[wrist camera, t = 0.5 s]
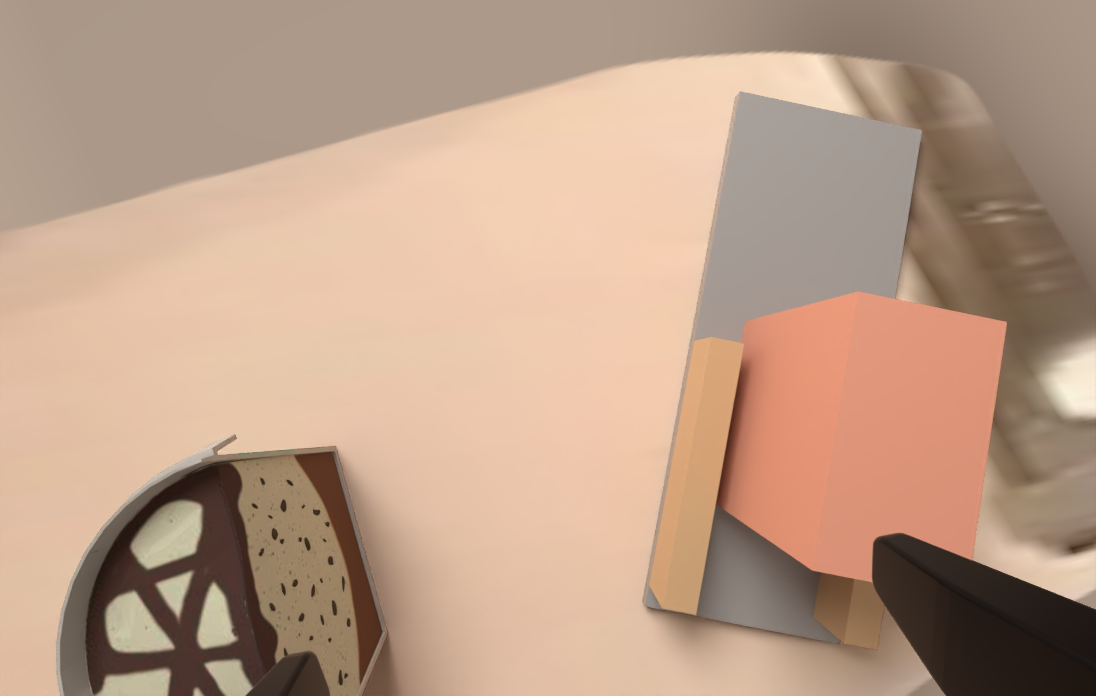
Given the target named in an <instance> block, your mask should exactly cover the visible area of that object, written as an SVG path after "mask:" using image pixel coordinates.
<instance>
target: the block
mask: <svg viewBox="0 0 1096 696" xmlns="http://www.w3.org/2000/svg"><path fill="white" fill-rule="evenodd" d="M1006 325H1007V322H1004V321H999V320H994V319H989V318H984V317H980V316H975V315H970V314H965V313H960V312H955V311H951V310H946V309H941V308H936V307H931V306H926V305H922V304H917V303H912V302H907V301H902V300H898V299H893V298H888V297H883V296H878V295H873V294H869V293H864V292H859V291H858V292H854V293H850V294H846V295H843V296H839V297H835V298H831V299H828V300H824V301H820V302H816V303H812V304H809V305H805V306H801V307H797V308H793V309H790V310H786V311H782V312H778V313H775V314H771V315H767V316H763V317H759V318H756V319H752V320H748V321H745V323H744V329H743V335H742V340H741V343H744V348H743V353H742V359H741V365H740V370H739V376H738V382H737V387H736V393H735V398H734V404H733V410H732V415H731V421H730V427H729V432H728V438H727V443H726V449H725V455H724V460H723V466H722V472H721V477H720V483H719V489H718V494H717V500H716V505H718V506H719V507H721V508H722V509H724V510H725V511H726V512H728V513H729V514H731V515H732V516H734V517H735V518H737V519H738V520H740V521H741V522H742V523H744V524H745V525H747V526H748V527H750V528H751V529H753V530H754V531H756V532H757V533H758V534H760V535H761V536H763V537H764V538H766V539H767V540H769V541H770V542H772V543H773V544H774V545H776V546H777V547H779V548H780V549H782V550H783V551H785V552H786V553H788V554H789V555H790V556H792V557H793V558H795V559H796V560H798V561H799V562H801V563H802V564H804V565H805V566H806V567H808V568H809V569H811V570H812V571H817V572H822V573H827V574H833V575H838V576H843V577H848V578H853V579H858V580H863V581H868V582H872V552H873V542H874V540H875V538H877V537H879V536H883V535H888V534H893V533H904V534H907V535H910V536H912V537H915V538H917V539H920V540H922V541H925V542H927V543H930V544H932V545H935V546H937V547H940V548H942V549H945V550H947V551H950V552H952V553H955V554H957V555H960V556H962V557H965V558H968V559H970V560H972V558H973V551H974V544H975V537H976V530H977V523H978V517H979V510H980V503H981V496H982V489H983V482H984V476H985V469H986V462H987V455H988V448H989V441H990V434H991V428H992V421H993V414H994V407H995V400H996V393H997V387H998V380H999V373H1000V366H1001V359H1002V352H1003V346H1004V339H1005V332H1006Z"/></svg>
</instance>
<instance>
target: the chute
mask: <svg viewBox="0 0 1096 696" xmlns="http://www.w3.org/2000/svg"><path fill="white" fill-rule="evenodd" d="M921 134H922V130H918V129H914V128H909V127H904V126H900V125H895V124H890V123H886V122H881V121H876V120H872V119H867V118H862V117H858V116H853V115H848V114H844V113H839V112H834V111H829V110H825V109H820V108H815V107H811V106H806V105H801V104H797V103H792V102H787V101H783V100H778V99H773V98H769V97H764V96H759V95H755V94H750V93H745V92H741V91H740V92H739V93H738V95H737V96H736V97H735V102H734V108H733V113H732V119H731V124H730V130H729V135H728V140H727V146H726V151H725V157H724V162H723V168H722V173H721V178H720V184H719V189H718V195H717V200H716V205H715V211H714V216H713V222H712V227H711V233H710V238H709V243H708V249H707V254H706V260H705V265H704V271H703V276H702V281H701V287H700V292H699V298H698V303H697V309H696V314H695V319H694V325H693V330H692V336H691V341H690V347H689V352H688V357H687V363H686V368H685V374H684V379H683V385H682V390H681V395H680V401H679V406H678V412H677V417H676V423H675V428H674V433H673V439H672V444H671V450H670V455H669V461H668V466H667V471H666V477H665V482H664V488H663V493H662V499H661V504H660V509H659V515H658V520H657V526H656V531H655V537H654V542H653V547H652V553H651V558H650V564H649V569H648V575H647V580H646V585H645V591H644V596H643V603H644V605H645V606H646V607H651V608H656V609H661V610H666V611H671V612H677V613H682V614H687V615H692V616H697V617H702V618H708V619H713V620H718V621H723V622H728V623H733V624H739V625H744V626H749V627H754V628H759V629H764V630H769V631H775V632H780V633H785V634H790V635H795V636H800V637H806V638H811V639H816V640H821V641H826V642H831V643H837V644H840V641H841V642H843V643H844V644H848V645H853V646H858V647H864V648H869V649H874V650H877V649H878V643H879V636H880V630H881V624H882V617H883V611H884V604H883V602H882V601H881V599H880V598H879V596H878V594H877V593H876V591H875V588H874V586H873V582H868V581H863V580H858V579H853V578H848V577H843V576H838V575H833V574H827V573H822V572H817V571H812V570H811V569H809V568H808V567H806V566H805V565H804V564H802V563H801V562H799V561H798V560H796V559H795V558H793V557H792V556H790V555H789V554H788V553H786V552H785V551H783V550H782V549H780V548H779V547H777V546H776V545H774V544H773V543H772V542H770V541H769V540H767V539H766V538H764V537H763V536H761V535H760V534H758V533H757V532H756V531H754V530H753V529H751V528H750V527H748V526H747V525H745V524H744V523H742V522H741V521H740V520H738V519H737V518H735V517H734V516H732V515H731V514H729V513H728V512H726V511H725V510H724V509H722V508H721V507H719V506H718V505H716V500H717V494H718V489H719V483H720V477H721V472H722V466H723V460H724V455H725V449H726V443H727V438H728V432H729V427H730V421H731V415H732V410H733V404H734V398H735V393H736V387H737V382H738V376H739V370H740V365H741V359H742V353H743V348H744V343H741V340H742V335H743V329H744V323H745V321H748V320H752V319H756V318H759V317H763V316H767V315H771V314H775V313H778V312H782V311H786V310H790V309H793V308H797V307H801V306H805V305H809V304H812V303H816V302H820V301H824V300H828V299H831V298H835V297H839V296H843V295H846V294H850V293H854V292H858V291H859V292H864V293H869V294H873V295H878V296H883V297H888V298H893V299H895V296H896V290H897V283H898V277H899V271H900V265H901V259H902V252H903V246H904V240H905V234H906V227H907V221H908V215H909V209H910V202H911V196H912V190H913V184H914V177H915V171H916V165H917V159H918V152H919V146H920V140H921Z"/></svg>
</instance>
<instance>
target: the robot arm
mask: <svg viewBox="0 0 1096 696" xmlns="http://www.w3.org/2000/svg"><path fill="white" fill-rule="evenodd" d="M872 582H873V586H874V588H875V591H876V593H877V594H878V596H879V598H880V599H881V601H882V602H883V604H884V605H885V607H886V608H887V610H888V611H889V613H890V614H891V616H892V617H893V619H894V620H895V622H896V623H897V625H898V626H899V628H900V629H901V631H902V632H903V634H904V635H905V637H906V638H907V640H908V641H909V643H910V644H911V646H912V647H913V649H914V650H915V652H916V653H917V655H918V656H919V658H920V659H921V661H922V662H923V664H924V665H925V667H926V668H927V670H928V671H929V673H930V674H931V676H932V677H933V678H934V680H935V681H936V683H937V684H938V685H939V687H940V688H941V690H942V691H943V692H944V694H945V695H946V696H1096V609H1093V608H1091V607H1088V606H1086V605H1083V604H1081V603H1078V602H1076V601H1073V600H1071V599H1068V598H1066V597H1063V596H1061V595H1058V594H1056V593H1053V592H1051V591H1048V590H1045V589H1043V588H1040V587H1038V586H1035V585H1033V584H1030V583H1028V582H1025V581H1023V580H1020V579H1018V578H1015V577H1013V576H1010V575H1008V574H1005V573H1003V572H1000V571H998V570H995V569H993V568H990V567H988V566H985V565H983V564H980V563H978V562H975V561H973V560H970V559H968V558H965V557H962V556H960V555H957V554H955V553H952V552H950V551H947V550H945V549H942V548H940V547H937V546H935V545H932V544H930V543H927V542H925V541H922V540H920V539H917V538H915V537H912V536H910V535H907V534H904V533H893V534H888V535H883V536H879V537H877V538H875V540H874V542H873V552H872ZM245 696H330V690H329V687H328V684H327V681H326V679H325V676H324V673H323V671H322V668H321V665H320V663H319V660H318V657H317V655H316V654H315V653H314V652H313V651H303V652H298V653H293V654H289V655H286V656H284V657H283V658H282V659H281V660H280V661H279V662H278V663H277V664H276V665H275V666H274V667H273V668H272V669H271V670H270V671H269V672H268V673H267V674H266V675H265V676H264V677H263V678H262V679H261V680H260V681H259V682H258V683H257V684H256V685H255V686H254V687H253V688H252V689H251V690H250V691H249V692H248V693H247V694H246V695H245Z"/></svg>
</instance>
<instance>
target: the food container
mask: <svg viewBox="0 0 1096 696" xmlns="http://www.w3.org/2000/svg"><path fill="white" fill-rule="evenodd" d="M236 439H237V438H236V435H232V436H230V437H227V438H225V439H222V440H220V441H217V442H215V443H212V444H210V445H208V446H206V447H204V448H202V449H201V450H199V451H197V452H195V453H194V454H192V455H190V456H188V457H187V458H185V459H183V460H181V461H180V462H178V463H176V464H174V465H173V466H171V467H169V468H167V469H166V470H164V471H162V472H160V473H159V474H157V475H156V476H155V477H154V478H152V479H151V480H150V481H148V482H147V483H146V484H145V485H143V486H142V487H141V488H139V489H138V490H137V491H136V492H134V493H133V494H132V495H131V497H130V498H129V499H128V500H127V501H126V502H125V503H124V504H123V505H122V506H121V507H120V508H119V509H118V510H117V511H116V512H115V513H114V514H113V516H112V517H111V518H110V519H109V520H108V521H107V522H106V524H105V525H104V526H103V527H102V528H101V529H100V531H99V532H98V534H97V535H96V537H95V538H94V540H93V541H92V542H91V544H90V545H89V547H88V548H87V550H86V551H85V553H84V555H83V557H82V559H81V561H80V563H79V565H78V567H77V569H76V571H75V573H74V575H73V577H72V579H71V581H70V584H69V587H68V591H67V594H66V597H65V600H64V603H63V607H62V610H61V615H60V622H59V628H58V635H57V642H56V663H57V679H58V685H59V691H60V696H245V695H246V694H247V693H248V692H249V691H250V690H251V689H252V688H253V687H254V686H255V685H256V684H257V683H258V682H259V681H260V680H261V679H262V678H263V677H264V676H265V675H266V674H267V673H268V672H269V671H270V670H271V669H272V668H273V667H274V666H275V665H276V664H277V663H278V662H279V661H280V660H281V659H282V658H283V657H284V656H286V655H289V654H293V653H298V652H303V651H313V652H314V653H315V654H316V655H317V657H318V660H319V663H320V665H321V668H322V671H323V673H324V676H325V679H326V681H327V684H328V687H329V690H330V696H362V694H363V692H364V689H365V687H366V685H367V682H368V680H369V677H370V675H371V673H372V670H373V668H374V665H375V663H376V661H377V658H378V656H379V653H380V651H381V649H382V646H383V644H384V641H385V639H386V637H387V634H388V631H387V628H386V624H385V621H384V617H383V613H382V610H381V606H380V603H379V599H378V596H377V592H376V588H375V585H374V581H373V578H372V574H371V571H370V567H369V563H368V560H367V556H366V553H365V549H364V546H363V542H362V538H361V535H360V531H359V528H358V524H357V521H356V517H355V513H354V510H353V506H352V503H351V499H350V496H349V492H348V488H347V485H346V481H345V478H344V474H343V471H342V467H341V463H340V460H339V456H338V453H337V449H336V446H330V447H317V448H304V449H291V450H278V451H265V452H253V453H240V454H227V455H218V454H217V451H218V450H220V449H221V448H223V447H225V446H226V445H228V444H229V443H231V442H233V441H234V440H236Z"/></svg>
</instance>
